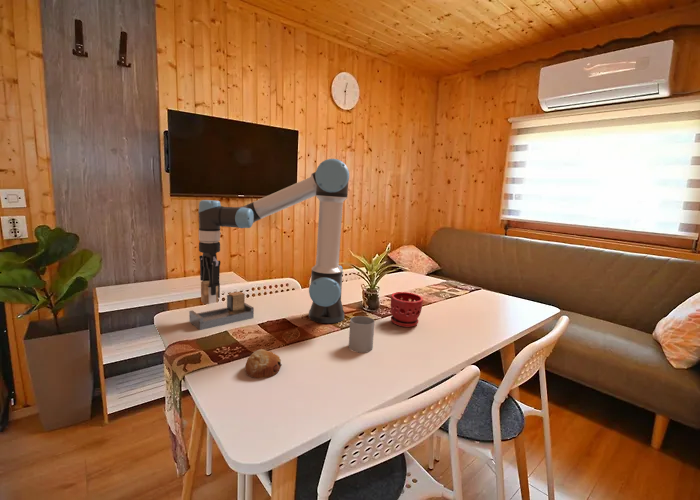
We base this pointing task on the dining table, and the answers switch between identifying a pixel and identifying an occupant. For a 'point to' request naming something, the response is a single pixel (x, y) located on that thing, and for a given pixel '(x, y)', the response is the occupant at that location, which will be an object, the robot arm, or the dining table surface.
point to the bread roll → (262, 364)
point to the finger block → (205, 292)
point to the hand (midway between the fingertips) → (209, 301)
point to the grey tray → (224, 313)
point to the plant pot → (405, 308)
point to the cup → (361, 334)
